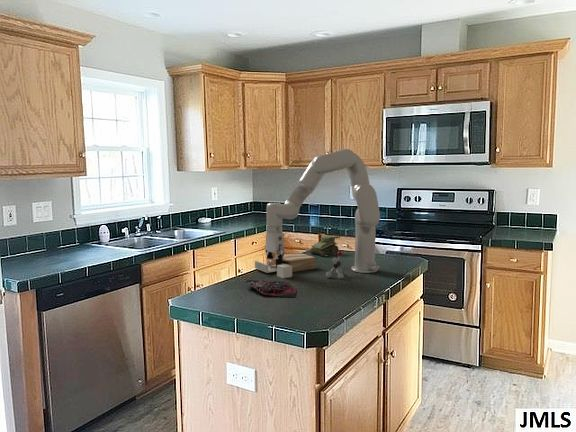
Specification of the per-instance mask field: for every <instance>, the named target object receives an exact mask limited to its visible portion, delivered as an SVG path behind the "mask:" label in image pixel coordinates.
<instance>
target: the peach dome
mask: <svg viewBox="0 0 576 432" xmlns="http://www.w3.org/2000/svg"><path fill="white" fill-rule="evenodd" d="M276 259H277V258H274V257H273V258H268V259H267V258H266V264H272V265H276Z"/></svg>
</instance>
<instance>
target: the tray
mask: <svg viewBox="0 0 576 432" xmlns="http://www.w3.org/2000/svg"><path fill="white" fill-rule="evenodd" d="M282 264H284V263H282ZM254 268H255V270H259V271H261V272H264V273H267V274H269V273H274V272H277V267H276V265H272V264H267V263H264V262H261V261H258V260H255V261H254Z"/></svg>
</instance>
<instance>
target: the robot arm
mask: <svg viewBox="0 0 576 432" xmlns="http://www.w3.org/2000/svg"><path fill="white" fill-rule="evenodd" d="M344 169H346V171H347V173H348V176H349V181H350V185H351V193H352V197H353V200H355V202H356V206H357V209H356V210H355V213H354V224H355V225H354V226H355V233H354V234H355V236H354V237H355V238H354V239H355V241H354V243H355V244H354V265H352V266H351V269H350V270H351V271H352V272H356V273H360V274H370V273H371V274H372V273H376V272H378V271H379V269H380V265H377V261H376V260H375V259H376V237H377V236H376V234H377V233H376V231H377V230H376V226H377V225H378V224H379V222H380V221H381V220H380V219H381V214H380V207H379V202H378V196H377V192H376V189H375V188H374V186H372V184H370V179H369V174H368V171H367V170H368V169H367V167H366V164H365V162H364V161H363V159H362V158H361V157H360V155H358V154H357V153H355V151H353V150H352V149H349V148H341V149H339V150H338V151H333V152H330V153H326V154H318V155H316V156H314V157H313V159H312V160H311V162H309V165H308V166H307V168H306V170H305V171H304V172H303V174H302V176H301V177H300V178H299V180H298V181H297V183H296V185H295V187H294V188H293V190H292V191H291V193H290V194H289V196H288V198H286V200H285V202H284V203H280V202H269V203H267V204H266V207H265V208H266V234H265V235H266V237H265V245H264V250H265V255H266V260H267V259H268V258H274V255H275V256H276V258H277V259H276V267H277V265H282V259H283V256H284V255H285V253H286V252H285V239H284V238H285V237H284V233H283V219H286V220H294V219H295V218H296V219H297V217H298V216H299V210H300V208H301V207H302V205H303V203H304V202H305V201H306V199H307V198H308V197H309V196H310V195H311V194H313V192H314V191H315V190H316V188H317V187H318V186H319V184H320V182H321V180H322V179H323V178H324V176H325V175H326V174H329V173H333V172H337V171H340V170H344ZM278 255H279V256H278Z"/></svg>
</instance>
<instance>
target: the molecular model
mask: <svg viewBox="0 0 576 432" xmlns="http://www.w3.org/2000/svg"><path fill="white" fill-rule="evenodd" d="M343 255H344V254H343V252H342V251H341V250H340V251H339V250H338V253H337V254H336V256H338V258H337V257H333V258H332V259H331V261H332V263H333V264H332V266H333V267H332V268H331V269H330V271H327V272H326V273H325V277H326V278H327V279H329V278H331V277H332V273H333V271H334V270H335V269H336V270H335V271H336V274H337V278H338V279H339V280H341V279H343V278H344V274H343V273H342V272H343V269H341V266H342V262H341V261H340V260H341V258H342V257H343Z"/></svg>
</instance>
